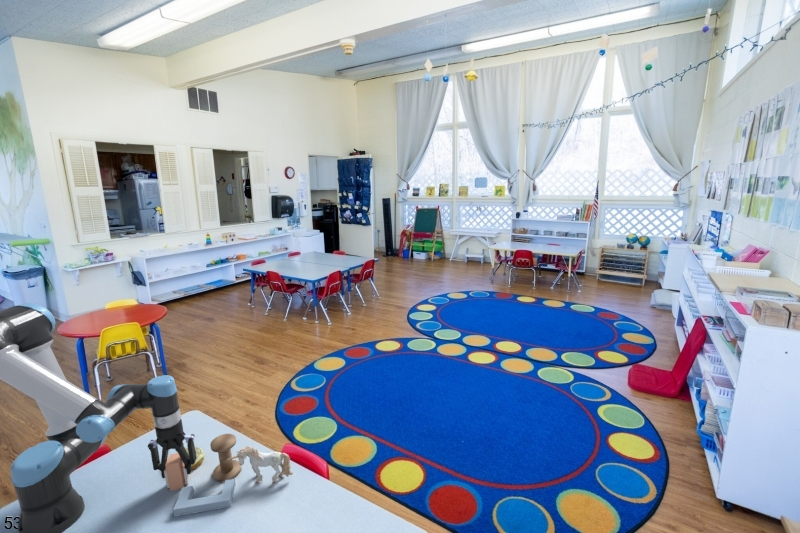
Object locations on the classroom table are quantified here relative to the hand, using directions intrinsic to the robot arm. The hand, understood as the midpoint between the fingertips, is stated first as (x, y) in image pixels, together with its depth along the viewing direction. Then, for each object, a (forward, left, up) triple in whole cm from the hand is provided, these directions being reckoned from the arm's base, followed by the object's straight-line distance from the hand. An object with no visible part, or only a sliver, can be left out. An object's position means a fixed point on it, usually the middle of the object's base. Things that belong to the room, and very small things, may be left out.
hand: (178, 483), depth 132 cm
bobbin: (+15, +2, 0) cm, 15 cm away
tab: (0, 0, 0) cm, 0 cm away
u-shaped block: (+11, -9, 0) cm, 15 cm away
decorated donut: (0, +10, -1) cm, 10 cm away
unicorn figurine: (+28, -7, -1) cm, 29 cm away
